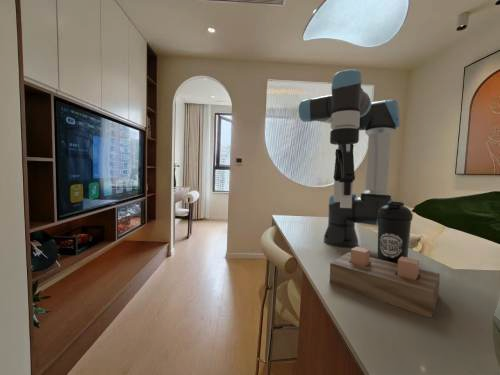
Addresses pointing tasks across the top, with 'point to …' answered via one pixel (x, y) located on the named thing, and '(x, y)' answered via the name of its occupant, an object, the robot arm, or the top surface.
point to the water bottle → (393, 231)
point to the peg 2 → (408, 268)
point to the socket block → (387, 284)
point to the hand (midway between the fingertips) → (341, 204)
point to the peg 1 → (360, 256)
